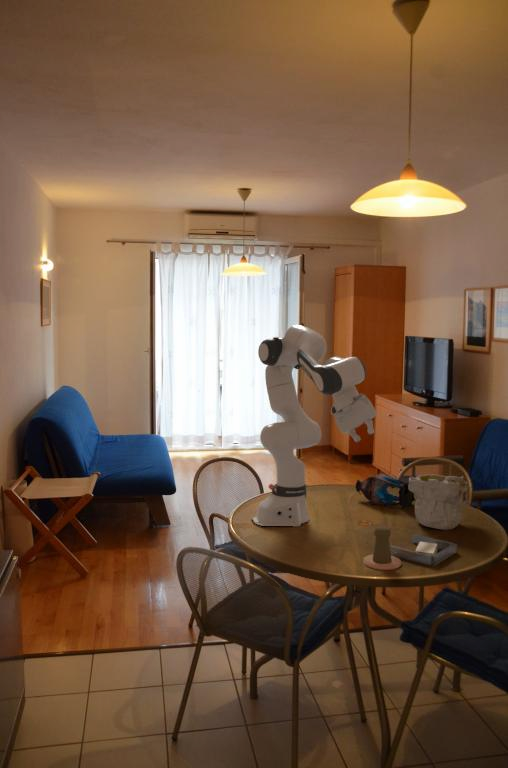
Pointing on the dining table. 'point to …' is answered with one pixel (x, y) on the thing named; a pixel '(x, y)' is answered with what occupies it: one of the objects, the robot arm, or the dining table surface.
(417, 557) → the grey u-shaped frame
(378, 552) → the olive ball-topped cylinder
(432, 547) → the offcut stack
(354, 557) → the dining table surface
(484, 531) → the dining table surface
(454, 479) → the ceramic vessel
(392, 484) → the lantern
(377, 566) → the pink round disc
